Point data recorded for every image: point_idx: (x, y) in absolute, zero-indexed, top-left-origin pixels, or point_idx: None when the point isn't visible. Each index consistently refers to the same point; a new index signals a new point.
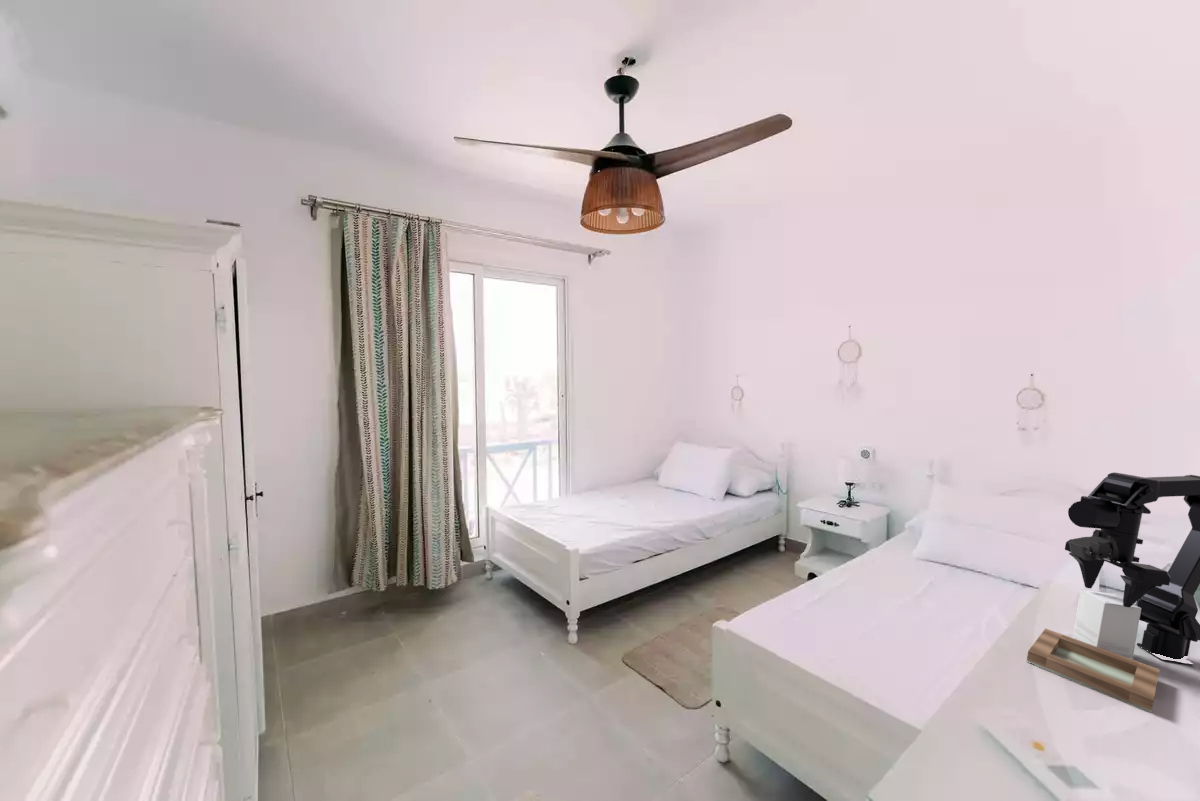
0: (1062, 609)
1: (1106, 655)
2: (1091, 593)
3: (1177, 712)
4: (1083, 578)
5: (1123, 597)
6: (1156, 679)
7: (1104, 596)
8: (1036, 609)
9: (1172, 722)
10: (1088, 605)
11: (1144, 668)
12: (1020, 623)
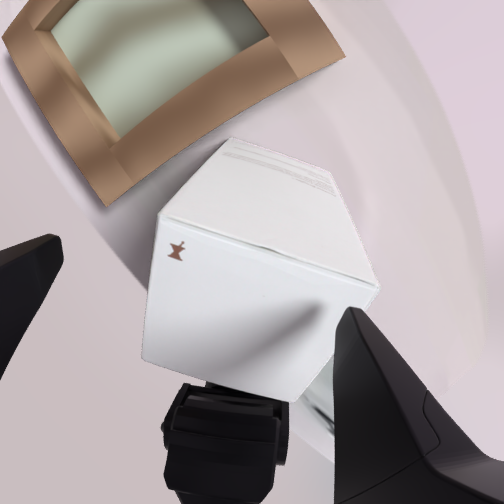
0: (448, 339)
1: (160, 106)
2: (311, 290)
3: (25, 100)
4: (390, 349)
5: (18, 257)
6: (58, 135)
7: (260, 325)
8: (476, 268)
9: (5, 56)
10: (289, 216)
11: (101, 161)
12: (434, 93)
